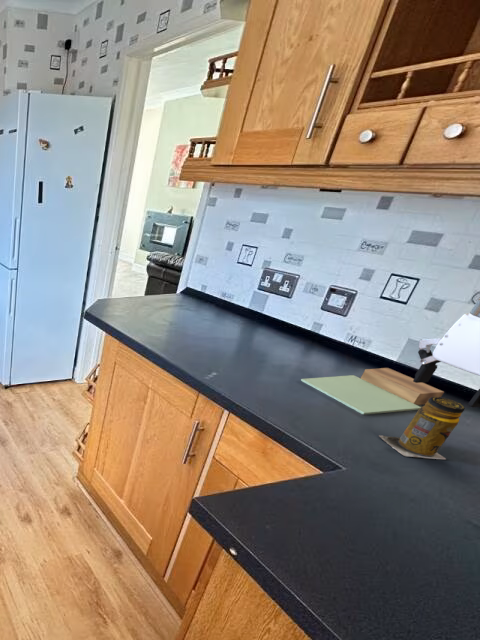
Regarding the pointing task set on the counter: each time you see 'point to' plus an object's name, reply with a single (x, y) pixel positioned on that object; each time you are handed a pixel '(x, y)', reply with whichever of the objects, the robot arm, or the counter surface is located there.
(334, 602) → the counter surface
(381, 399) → the mat
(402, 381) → the step
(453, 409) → the condiment
